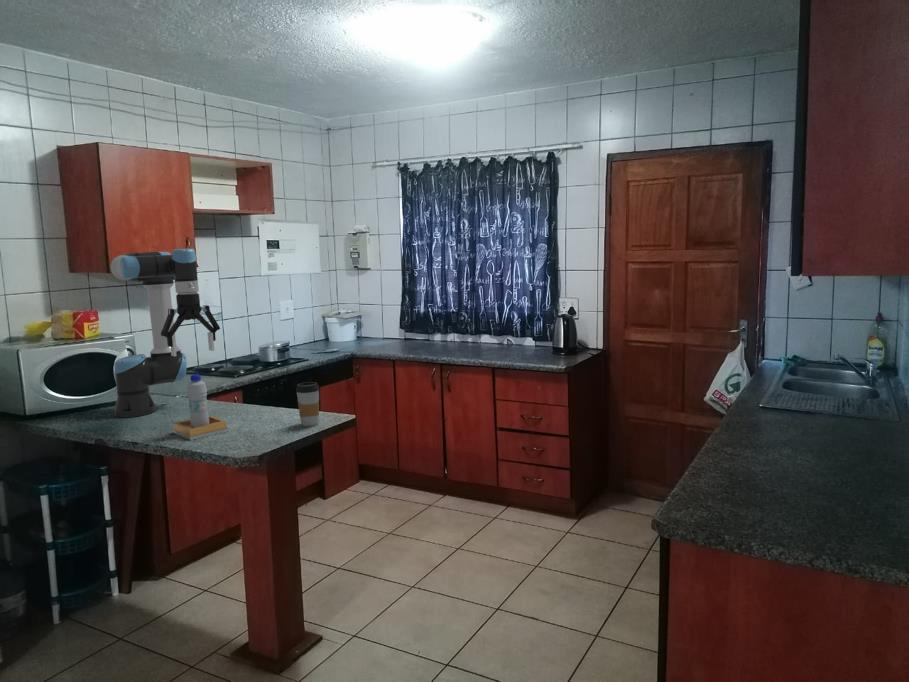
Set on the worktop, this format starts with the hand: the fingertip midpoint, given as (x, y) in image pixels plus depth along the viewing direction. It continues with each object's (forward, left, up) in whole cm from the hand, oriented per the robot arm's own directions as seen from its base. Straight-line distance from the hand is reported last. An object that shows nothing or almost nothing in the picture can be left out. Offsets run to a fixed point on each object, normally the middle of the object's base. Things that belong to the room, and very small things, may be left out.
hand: (193, 353), depth 233 cm
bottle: (+1, 0, -28) cm, 28 cm away
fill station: (+1, 0, -29) cm, 29 cm away
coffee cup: (+24, +31, -29) cm, 48 cm away
